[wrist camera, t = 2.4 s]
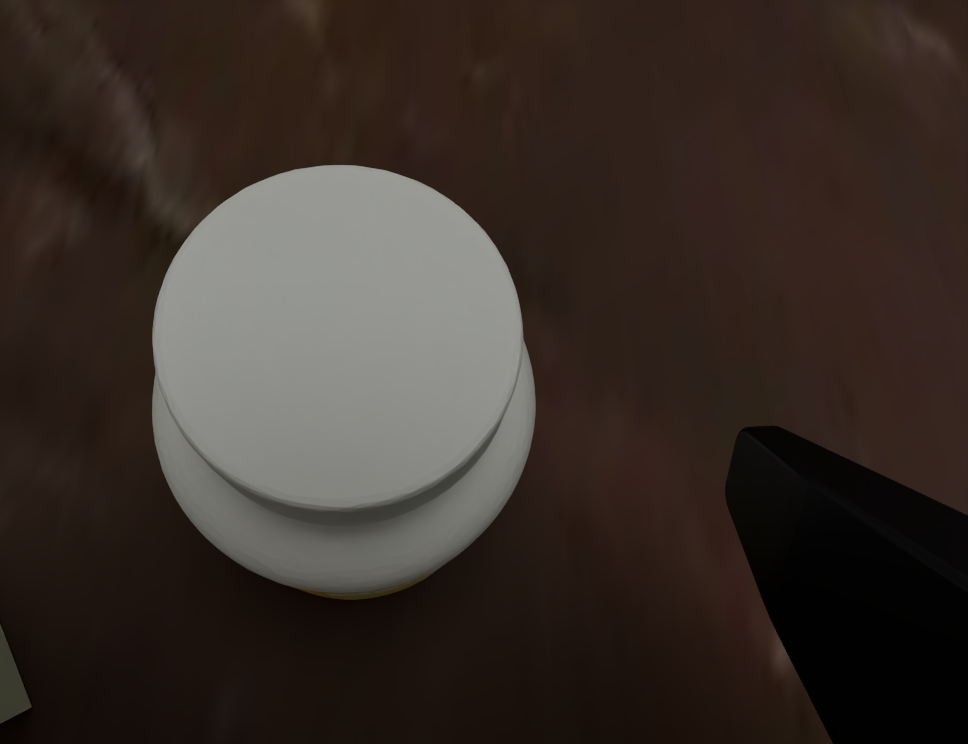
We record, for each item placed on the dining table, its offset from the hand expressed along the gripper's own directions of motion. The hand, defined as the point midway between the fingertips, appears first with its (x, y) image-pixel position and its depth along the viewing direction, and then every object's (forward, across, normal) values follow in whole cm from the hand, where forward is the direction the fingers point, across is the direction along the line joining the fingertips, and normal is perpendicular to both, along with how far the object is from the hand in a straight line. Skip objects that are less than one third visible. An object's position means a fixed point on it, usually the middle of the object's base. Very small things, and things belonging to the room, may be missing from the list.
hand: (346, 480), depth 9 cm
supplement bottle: (+8, 0, +6) cm, 9 cm away
